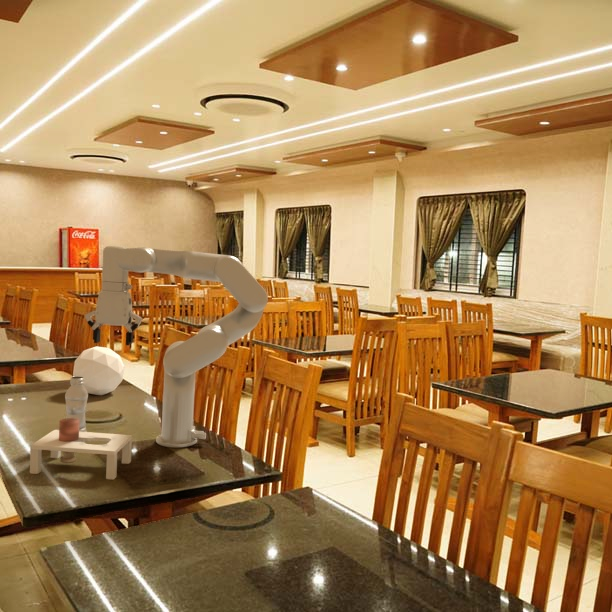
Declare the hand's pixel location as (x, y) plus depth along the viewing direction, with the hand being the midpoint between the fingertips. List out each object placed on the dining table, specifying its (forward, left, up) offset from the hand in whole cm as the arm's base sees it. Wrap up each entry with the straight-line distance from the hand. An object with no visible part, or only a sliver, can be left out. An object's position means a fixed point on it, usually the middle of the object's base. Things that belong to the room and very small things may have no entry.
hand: (112, 343), depth 184 cm
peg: (+3, +23, -29) cm, 37 cm away
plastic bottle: (+9, +4, -31) cm, 32 cm away
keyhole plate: (-1, +23, -30) cm, 38 cm away
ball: (+25, -57, -31) cm, 69 cm away
